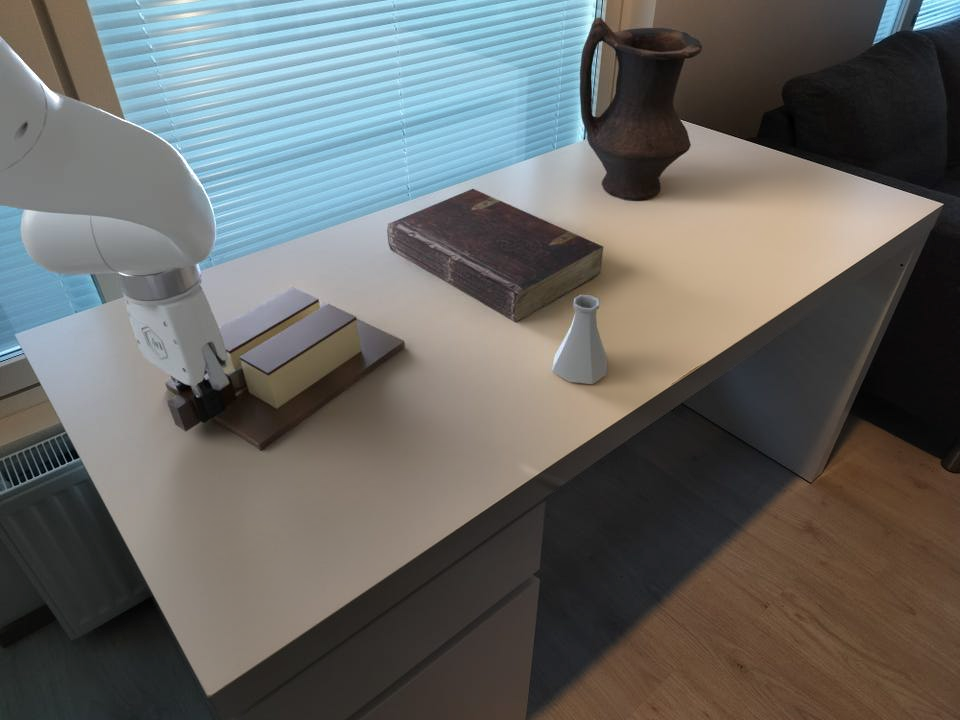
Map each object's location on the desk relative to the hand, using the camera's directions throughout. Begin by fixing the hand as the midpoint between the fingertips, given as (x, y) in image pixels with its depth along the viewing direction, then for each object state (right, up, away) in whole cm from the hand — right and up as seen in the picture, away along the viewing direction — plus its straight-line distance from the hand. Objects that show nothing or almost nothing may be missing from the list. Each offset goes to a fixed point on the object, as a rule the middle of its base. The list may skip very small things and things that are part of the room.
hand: (205, 409), depth 79 cm
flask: (+45, +5, +8) cm, 46 cm away
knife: (+2, +2, +3) cm, 4 cm away
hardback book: (+34, +21, +30) cm, 50 cm away
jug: (+60, +38, +52) cm, 88 cm away
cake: (+7, +5, +9) cm, 12 cm away
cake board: (+7, +5, +9) cm, 12 cm away
